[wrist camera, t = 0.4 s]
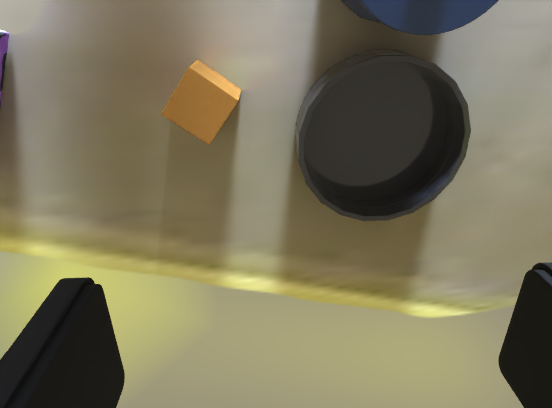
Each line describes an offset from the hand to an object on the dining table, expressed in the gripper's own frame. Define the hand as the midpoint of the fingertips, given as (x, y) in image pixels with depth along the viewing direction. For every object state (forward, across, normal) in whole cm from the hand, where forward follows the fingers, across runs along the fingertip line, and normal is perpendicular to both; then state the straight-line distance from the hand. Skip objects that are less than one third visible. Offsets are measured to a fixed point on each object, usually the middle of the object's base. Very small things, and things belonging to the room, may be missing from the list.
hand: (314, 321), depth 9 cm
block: (+30, +6, +1) cm, 30 cm away
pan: (+30, -9, +4) cm, 31 cm away
